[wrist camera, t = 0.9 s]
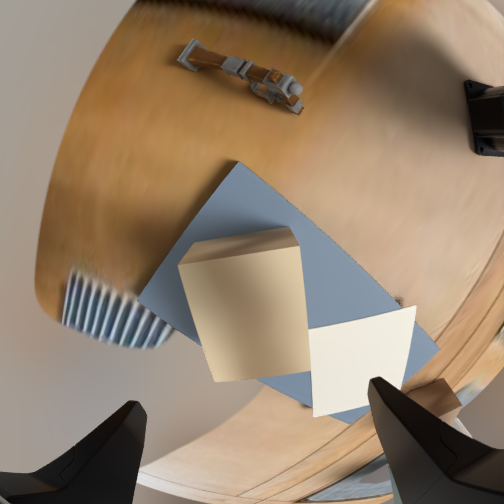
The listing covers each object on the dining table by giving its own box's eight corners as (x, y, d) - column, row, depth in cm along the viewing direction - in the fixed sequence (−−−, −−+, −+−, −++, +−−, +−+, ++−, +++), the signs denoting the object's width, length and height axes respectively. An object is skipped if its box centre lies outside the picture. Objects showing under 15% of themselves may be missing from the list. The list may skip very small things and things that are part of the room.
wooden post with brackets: (306, 129, 15) (287, 97, 11) (210, 86, 17) (174, 58, 13) (320, 107, 15) (307, 69, 10) (223, 67, 17) (191, 36, 12)
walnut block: (443, 377, 23) (462, 405, 18) (431, 408, 25) (445, 434, 20) (407, 391, 23) (424, 423, 18) (398, 421, 25) (411, 450, 20)
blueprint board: (135, 302, 20) (130, 309, 19) (250, 149, 16) (249, 148, 15) (346, 424, 24) (348, 431, 23) (446, 340, 21) (451, 346, 20)
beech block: (289, 226, 17) (299, 245, 13) (302, 334, 19) (311, 370, 15) (194, 242, 17) (177, 265, 13) (221, 345, 20) (214, 382, 16)
